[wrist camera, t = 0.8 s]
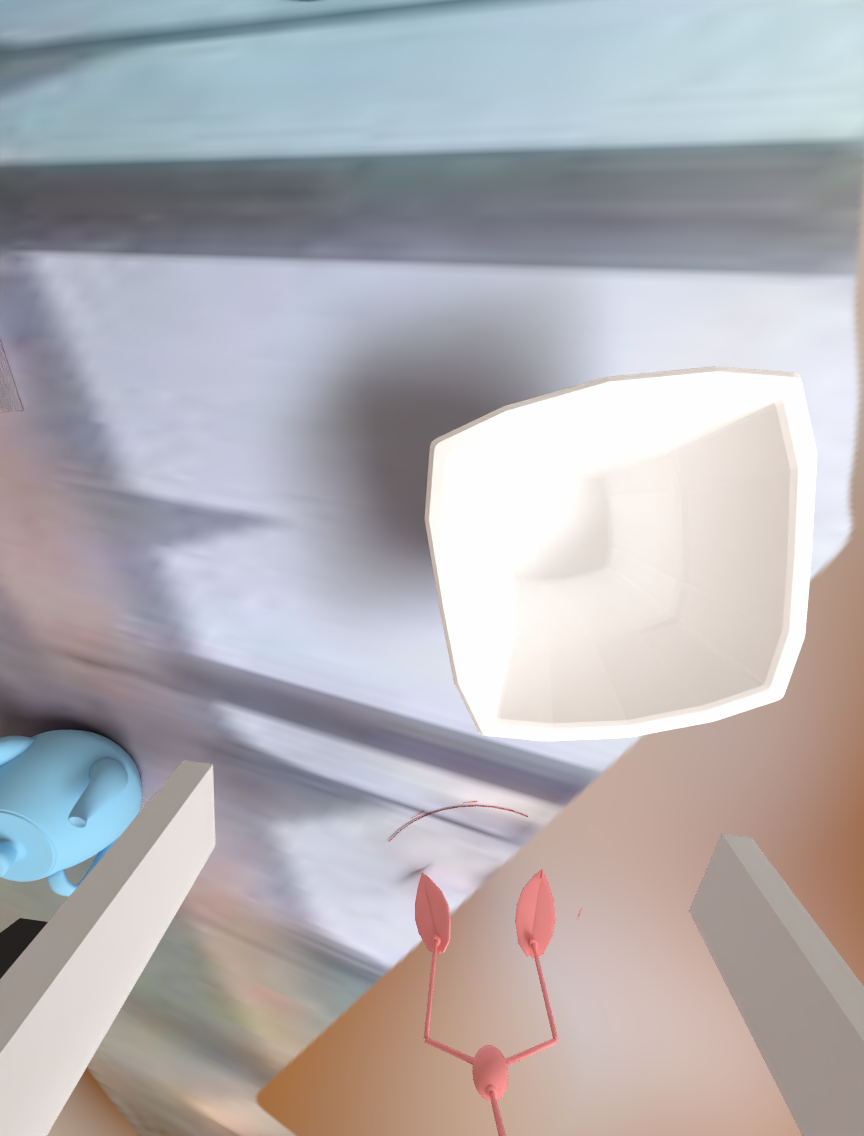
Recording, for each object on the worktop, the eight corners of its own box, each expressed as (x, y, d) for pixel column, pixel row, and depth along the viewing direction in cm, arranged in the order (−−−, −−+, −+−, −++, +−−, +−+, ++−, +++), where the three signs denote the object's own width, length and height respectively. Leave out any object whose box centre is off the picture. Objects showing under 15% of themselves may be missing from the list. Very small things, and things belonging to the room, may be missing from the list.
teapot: (152, 843, 47) (72, 950, 37) (14, 807, 46) (-105, 906, 36) (168, 735, 42) (83, 822, 33) (17, 693, 42) (-116, 770, 32)
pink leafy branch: (601, 916, 46) (999, 2153, 13) (366, 910, 48) (158, 2010, 14) (612, 800, 43) (1230, 2135, 9) (356, 797, 44) (35, 1939, 10)
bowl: (670, 380, 32) (831, 333, 18) (675, 620, 37) (804, 720, 23) (422, 427, 33) (403, 415, 20) (461, 650, 38) (466, 759, 25)
